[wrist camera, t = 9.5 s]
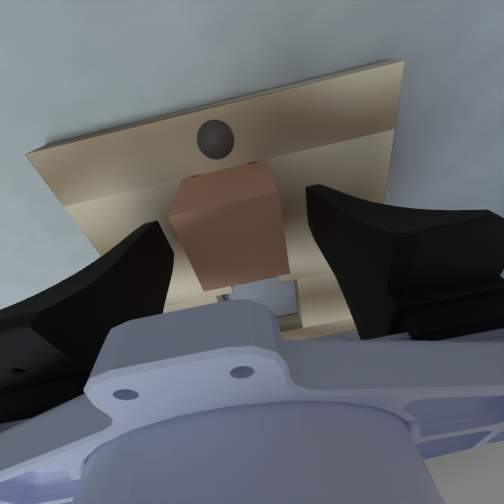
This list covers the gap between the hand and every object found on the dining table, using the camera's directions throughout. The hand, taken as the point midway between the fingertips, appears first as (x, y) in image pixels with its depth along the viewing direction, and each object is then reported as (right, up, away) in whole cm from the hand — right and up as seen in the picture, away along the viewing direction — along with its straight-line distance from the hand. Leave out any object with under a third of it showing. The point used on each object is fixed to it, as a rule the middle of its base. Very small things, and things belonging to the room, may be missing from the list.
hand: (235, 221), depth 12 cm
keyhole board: (+1, -2, +5) cm, 5 cm away
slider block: (0, +2, +2) cm, 3 cm away
